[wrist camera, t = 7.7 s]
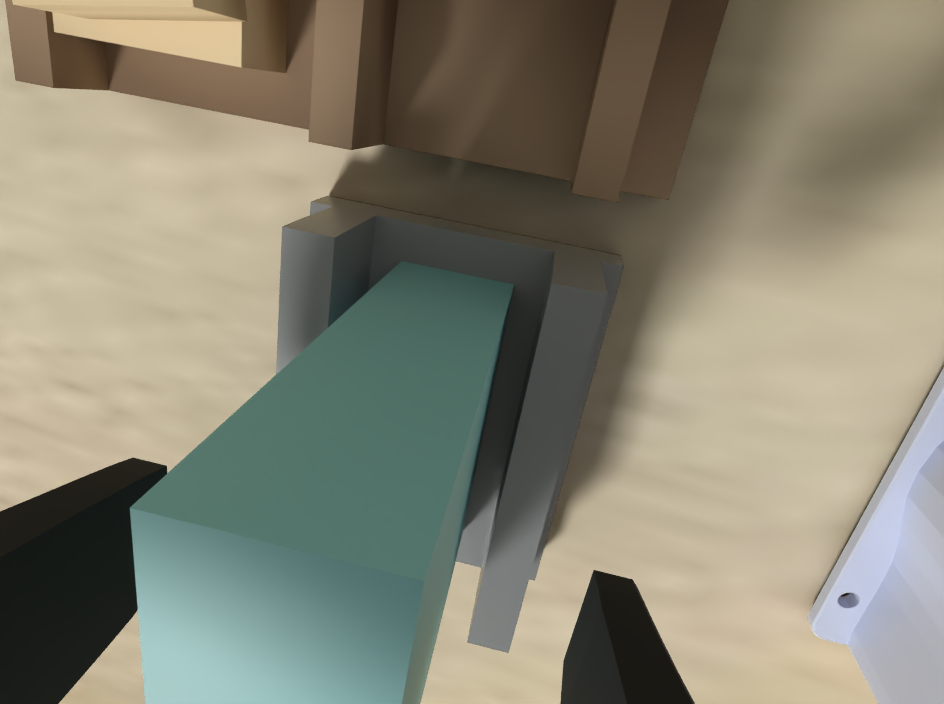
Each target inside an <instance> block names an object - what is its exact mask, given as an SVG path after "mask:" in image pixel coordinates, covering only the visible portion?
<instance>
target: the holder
mask: <svg viewBox="0 0 944 704" xmlns="http://www.w3.org/2000/svg"><path fill="white" fill-rule="evenodd" d="M401 261H404V262H409V263H414V264H419V265H423V266H428V267H433V268H438V269H442V270H447V271H452V272H457V273H462V274H466V275H471V276H476V277H481V278H485V279H490V280H495V281H500V282H504V283H509V284H514V290H513V295H512V300H511V304H510V309H509V314H508V319H507V323H506V328H505V333H504V338H503V343H502V347H501V352H500V357H499V362H498V367H497V371H496V376H495V381H494V386H493V390H492V395H491V400H490V405H489V410H488V414H487V419H486V424H485V429H484V434H483V438H482V443H481V448H480V453H479V457H478V462H477V467H476V472H475V477H474V481H473V486H472V491H471V496H470V501H469V505H468V510H467V515H466V520H465V524H464V529H463V533H462V538H461V542H460V546H459V550H458V554H457V558H456V561H457V562H461V563H465V564H469V565H473V566H477V567H481V572H480V578H479V583H478V588H477V594H476V599H475V604H474V609H473V615H472V620H471V625H470V631H469V636H468V641H467V642H468V643H472V644H475V645H479V646H483V647H487V648H491V649H495V650H499V651H503V652H507V653H509V649H510V646H511V642H512V638H513V635H514V631H515V628H516V624H517V620H518V617H519V613H520V610H521V606H522V602H523V599H524V595H525V592H526V588H527V584H528V581H529V579H530V580H534V581H535V578H536V574H537V571H538V567H539V564H540V560H541V557H542V553H543V550H544V546H545V543H546V539H547V536H548V532H549V528H550V525H551V521H552V518H553V514H554V511H555V507H556V504H557V500H558V497H559V493H560V490H561V486H562V483H563V479H564V475H565V472H566V468H567V465H568V461H569V458H570V454H571V451H572V447H573V444H574V440H575V437H576V433H577V430H578V426H579V423H580V419H581V415H582V412H583V408H584V405H585V401H586V398H587V394H588V391H589V387H590V384H591V380H592V377H593V373H594V370H595V366H596V363H597V359H598V355H599V352H600V348H601V345H602V341H603V338H604V334H605V331H606V327H607V324H608V320H609V317H610V313H611V310H612V306H613V303H614V299H615V295H616V292H617V288H618V285H619V281H620V278H621V274H622V271H623V267H624V265H623V262H622V259H621V257H620V255H616V254H611V253H606V252H601V251H596V250H591V249H586V248H581V247H577V246H572V245H567V244H562V243H557V242H552V241H547V240H542V239H537V238H532V237H527V236H523V235H518V234H513V233H508V232H503V231H498V230H493V229H488V228H483V227H478V226H474V225H469V224H464V223H459V222H454V221H449V220H444V219H439V218H434V217H429V216H425V215H420V214H415V213H410V212H405V211H400V210H395V209H390V208H385V207H380V206H375V205H371V204H366V203H361V202H356V201H351V200H346V199H341V198H336V197H331V196H326V197H323V198H320V199H317V200H314V201H312V202H311V208H310V216H307V217H305V218H302V219H300V220H297V221H295V222H292V223H290V224H288V225H285V226H283V227H282V246H281V270H280V295H279V319H278V343H277V368H276V375H277V374H278V373H279V372H280V371H281V370H282V369H283V368H284V367H285V366H286V365H288V364H289V363H290V362H291V361H292V360H293V359H294V358H295V357H296V356H298V355H299V354H300V353H301V352H302V351H303V350H304V349H305V348H306V347H307V346H309V345H310V344H311V343H312V342H313V341H314V340H315V339H316V338H317V337H318V336H320V335H321V334H322V333H323V332H324V331H325V330H326V329H327V328H328V327H329V326H331V325H332V324H333V323H334V322H335V321H336V320H337V319H338V318H339V317H340V316H342V315H343V314H344V313H345V312H346V311H347V310H348V309H349V308H350V307H351V306H353V305H354V304H355V303H356V302H357V301H358V300H359V299H360V298H361V297H362V296H364V295H365V294H366V293H367V292H368V291H369V290H370V289H371V288H372V287H373V286H375V285H376V284H377V283H378V282H379V281H380V280H381V279H382V278H383V277H384V276H386V275H387V274H388V273H389V272H390V271H391V270H392V269H393V268H394V267H396V266H397V265H398V264H399V263H400V262H401Z"/></svg>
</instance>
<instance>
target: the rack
mask: <svg viewBox="0 0 944 704" xmlns="http://www.w3.org/2000/svg"><path fill="white" fill-rule="evenodd" d="M5 2H6V10H7V18H8V26H9V33H10V41H11V49H12V57H13V64H14V72H15V80H16V81H21V82H26V83H31V84H36V85H42V86H47V87H52V88H69V89H92V90H110V91H115V92H120V93H125V94H130V95H136V96H141V97H146V98H151V99H156V100H161V101H166V102H171V103H176V104H181V105H187V106H192V107H197V108H202V109H207V110H212V111H217V112H222V113H227V114H232V115H238V116H243V117H248V118H253V119H258V120H263V121H268V122H273V123H278V124H283V125H289V126H294V127H299V128H304V129H309V142H313V143H318V144H323V145H328V146H333V147H339V148H344V149H349V150H354V149H359V148H365V147H370V146H376V145H381V144H385V145H391V146H396V147H401V148H406V149H411V150H416V151H421V152H426V153H431V154H436V155H442V156H447V157H452V158H457V159H462V160H467V161H472V162H477V163H482V164H487V165H493V166H498V167H503V168H508V169H513V170H518V171H523V172H528V173H533V174H538V175H544V176H549V177H554V178H559V179H564V180H569V181H571V188H572V194H576V195H581V196H587V197H592V198H597V199H602V200H607V201H612V202H618V198H619V194H620V191H625V192H630V193H635V194H640V195H646V196H651V197H656V198H661V199H666V200H669V196H670V193H671V190H672V186H673V183H674V180H675V177H676V173H677V170H678V167H679V163H680V160H681V157H682V153H683V150H684V147H685V143H686V140H687V137H688V133H689V130H690V127H691V123H692V120H693V117H694V113H695V110H696V107H697V103H698V100H699V97H700V93H701V90H702V87H703V83H704V80H705V77H706V73H707V70H708V67H709V63H710V60H711V57H712V53H713V50H714V47H715V43H716V40H717V37H718V34H719V30H720V27H721V24H722V20H723V17H724V14H725V10H726V7H727V4H728V0H289V1H288V27H287V52H286V73H280V72H272V71H264V70H257V69H249V68H241V67H236V66H231V65H225V64H220V63H215V62H210V61H204V60H199V59H194V58H189V57H183V56H178V55H173V54H168V53H162V52H157V51H152V50H146V49H141V48H136V47H131V46H125V45H120V44H115V43H110V42H104V41H99V40H94V39H89V38H83V37H78V36H73V35H67V34H62V33H57V32H54V24H53V14H52V12H50V11H44V10H39V9H34V8H29V7H23V6H18V5H13V2H12V0H5Z"/></svg>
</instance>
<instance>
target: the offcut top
mask: <svg viewBox="0 0 944 704" xmlns="http://www.w3.org/2000/svg"><path fill="white" fill-rule="evenodd" d="M12 2H13V5H18V6H23V7H29V8H34V9H39V10H44V11H50V12H55V13H60V14H65V15H71V16H76V17H81V18H87V19H109V20H168V21H227V22H247V12H246V2H245V0H12Z"/></svg>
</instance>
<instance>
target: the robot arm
mask: <svg viewBox="0 0 944 704" xmlns="http://www.w3.org/2000/svg"><path fill="white" fill-rule="evenodd" d="M166 474H167V466H165V465H161V464H157V463H153V462H149V461H145V460H140V459H136V458H131V459H128V460H125V461H122V462H119V463H117V464H114V465H112V466H109V467H106V468H104V469H101V470H99V471H97V472H94V473H92V474H89V475H87V476H84V477H82V478H80V479H77V480H75V481H72V482H70V483H68V484H65V485H63V486H60V487H58V488H56V489H53V490H51V491H49V492H46V493H44V494H42V495H39V496H37V497H34V498H32V499H29V500H27V501H25V502H22V503H20V504H17V505H15V506H13V507H10V508H8V509H5V510H3V511H1V512H0V704H58V703H59V702H60V701H61V700H62V699H63V698H64V697H65V695H66V694H67V693H68V692H69V691H70V690H71V688H72V687H73V686H74V685H75V684H76V683H77V681H78V680H79V679H80V678H81V677H82V676H83V675H84V673H85V672H86V671H87V670H88V669H89V668H90V666H91V665H92V664H93V663H94V662H95V661H96V659H97V658H98V657H99V656H100V655H101V654H102V652H103V651H104V650H105V649H106V648H107V647H108V645H109V644H110V643H111V642H112V641H113V640H114V638H115V637H116V636H117V635H118V634H119V632H120V631H121V630H122V629H123V628H124V626H125V625H126V624H127V623H128V622H129V620H130V619H131V618H132V617H133V616H134V614H135V613H136V611H137V610H138V605H137V593H136V580H135V567H134V555H133V542H132V529H131V517H130V507H131V506H132V505H133V504H135V503H136V502H137V501H138V500H139V499H140V498H141V497H142V496H143V495H144V494H146V493H147V492H148V491H149V490H150V489H151V488H152V487H153V486H154V485H155V484H157V483H158V482H159V481H160V480H161V479H162V478H163V477H164V476H165V475H166ZM845 593H850V594H849V595H847V596H844V597H840V596H841V595H842V594H845ZM808 621H809V624H810V626H811V628H812V631H813V633H814V634H815V635H817V636H818V637H820V638H822V639H824V640H828V641H832V642H836V643H841V644H845V645H848V647H849V649H850V651H851V653H852V655H853V657H854V658H855V660H856V662H857V664H858V666H859V668H860V670H861V672H862V674H863V676H864V678H865V679H866V681H867V683H868V685H869V687H870V689H871V691H872V693H873V695H874V697H875V699H876V701H877V702H878V704H944V368H943V369H942V371H941V373H940V375H939V377H938V379H937V380H936V382H935V384H934V386H933V388H932V390H931V391H930V393H929V395H928V397H927V399H926V401H925V402H924V404H923V406H922V408H921V410H920V411H919V413H918V415H917V417H916V419H915V421H914V422H913V424H912V426H911V428H910V430H909V432H908V433H907V435H906V437H905V439H904V441H903V442H902V444H901V446H900V448H899V450H898V452H897V453H896V455H895V457H894V459H893V461H892V463H891V464H890V466H889V468H888V470H887V472H886V473H885V475H884V477H883V479H882V481H881V483H880V484H879V486H878V488H877V490H876V492H875V494H874V495H873V497H872V499H871V501H870V503H869V504H868V506H867V508H866V510H865V512H864V514H863V515H862V517H861V519H860V521H859V523H858V525H857V526H856V528H855V530H854V532H853V534H852V536H851V537H850V539H849V541H848V543H847V545H846V546H845V548H844V550H843V552H842V554H841V556H840V557H839V559H838V561H837V563H836V565H835V567H834V568H833V570H832V572H831V574H830V576H829V577H828V579H827V581H826V583H825V585H824V587H823V588H822V590H821V592H820V594H819V596H818V598H817V599H816V601H815V603H814V605H813V607H812V608H811V610H810V612H809V615H808ZM561 704H695V703H694V701H693V699H692V697H691V696H690V694H689V692H688V690H687V688H686V686H685V684H684V683H683V681H682V679H681V677H680V675H679V673H678V671H677V669H676V667H675V665H674V663H673V661H672V659H671V657H670V655H669V653H668V651H667V649H666V647H665V645H664V643H663V641H662V639H661V637H660V635H659V633H658V631H657V629H656V626H655V624H654V622H653V620H652V618H651V616H650V614H649V612H648V609H647V607H646V605H645V603H644V601H643V599H642V597H641V594H640V592H639V590H638V588H637V586H636V584H635V583H634V581H633V580H632V579H628V578H624V577H620V576H616V575H612V574H608V573H604V572H600V571H596V570H594V571H593V574H592V577H591V580H590V583H589V586H588V589H587V592H586V595H585V598H584V601H583V604H582V607H581V610H580V613H579V616H578V619H577V622H576V625H575V628H574V631H573V634H572V637H571V640H570V643H569V646H568V649H567V652H566V655H565V658H564V664H563V678H562V691H561Z"/></svg>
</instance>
